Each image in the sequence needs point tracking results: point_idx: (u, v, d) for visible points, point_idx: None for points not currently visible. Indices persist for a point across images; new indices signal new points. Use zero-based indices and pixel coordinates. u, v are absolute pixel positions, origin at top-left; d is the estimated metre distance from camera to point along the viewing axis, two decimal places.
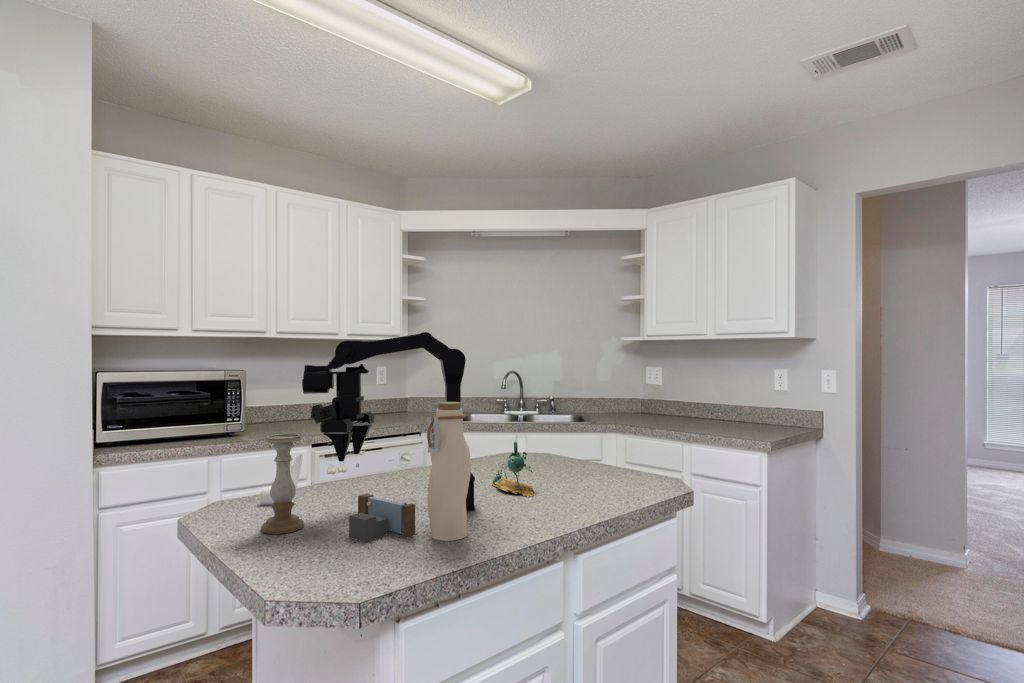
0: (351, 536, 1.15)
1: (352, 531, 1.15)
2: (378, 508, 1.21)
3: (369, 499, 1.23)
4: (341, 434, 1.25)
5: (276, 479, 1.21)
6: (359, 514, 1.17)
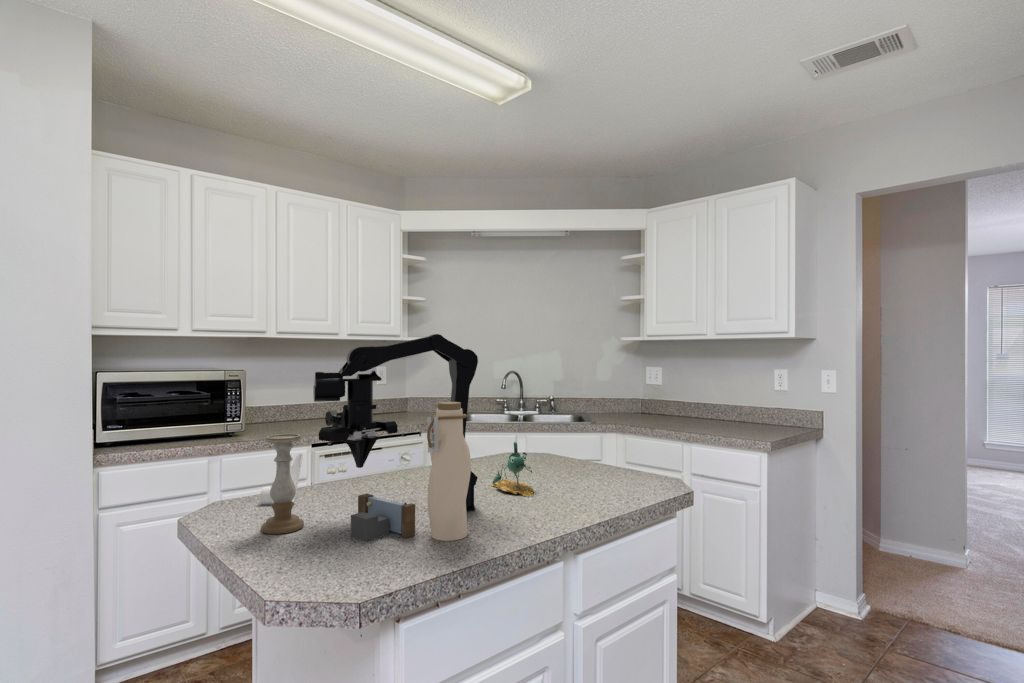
0: (353, 535, 1.16)
1: (354, 531, 1.15)
2: (378, 508, 1.21)
3: (369, 499, 1.23)
4: (351, 441, 1.25)
5: (276, 479, 1.21)
6: (361, 514, 1.17)
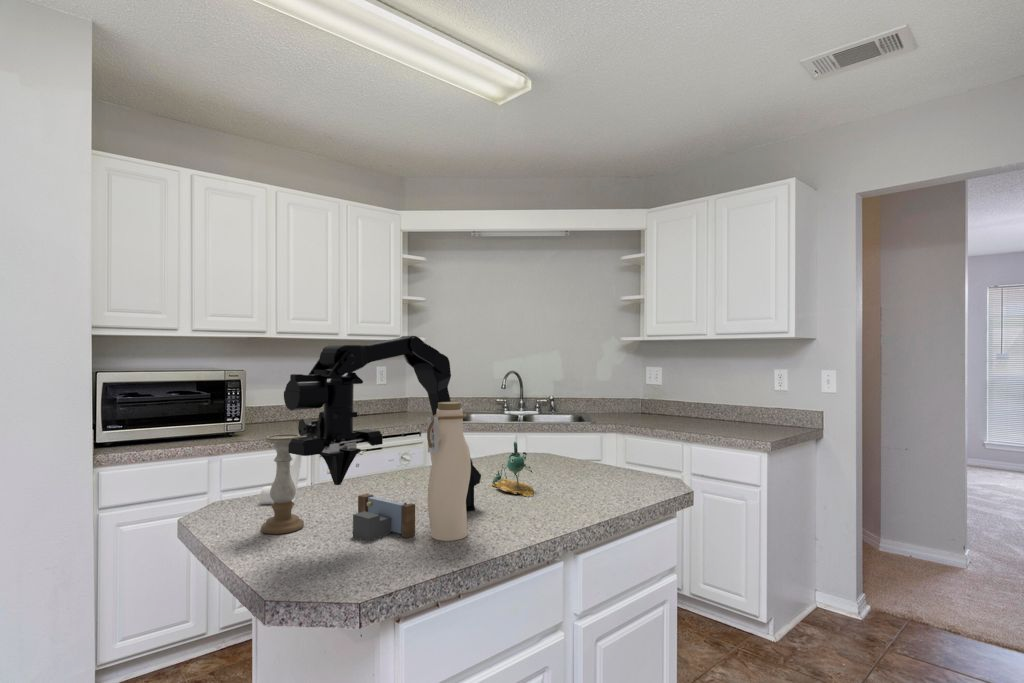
0: (355, 535, 1.16)
1: (356, 530, 1.16)
2: (378, 508, 1.21)
3: (369, 499, 1.23)
4: (327, 454, 1.07)
5: (276, 479, 1.21)
6: (363, 513, 1.18)
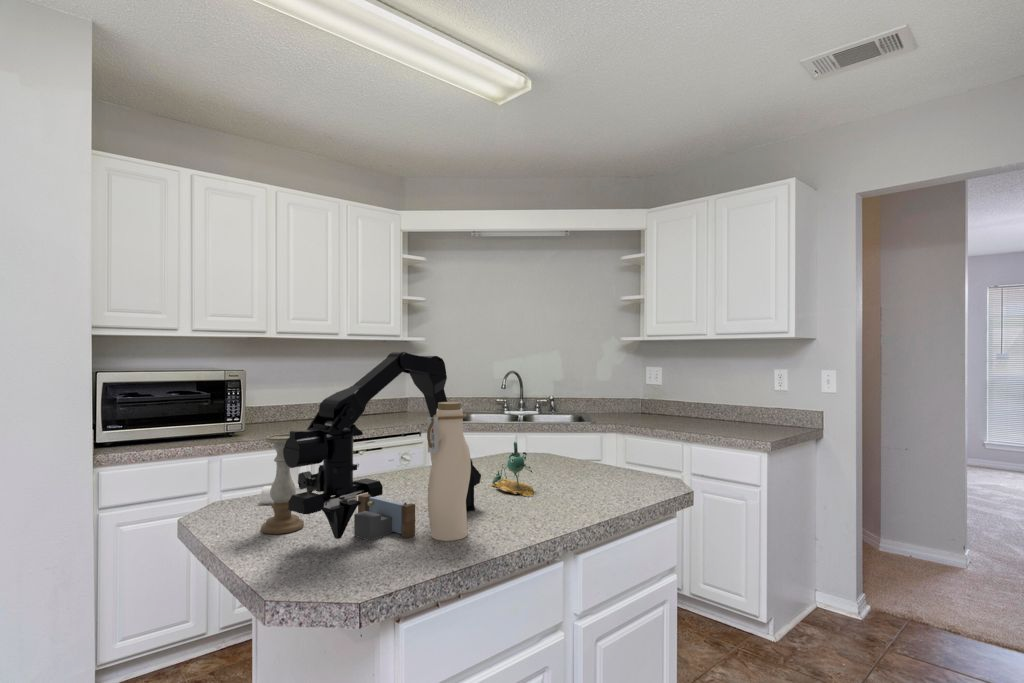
0: (356, 534, 1.17)
1: (358, 530, 1.16)
2: (379, 508, 1.22)
3: (370, 499, 1.23)
4: (327, 509, 1.07)
5: (276, 479, 1.21)
6: (364, 512, 1.18)
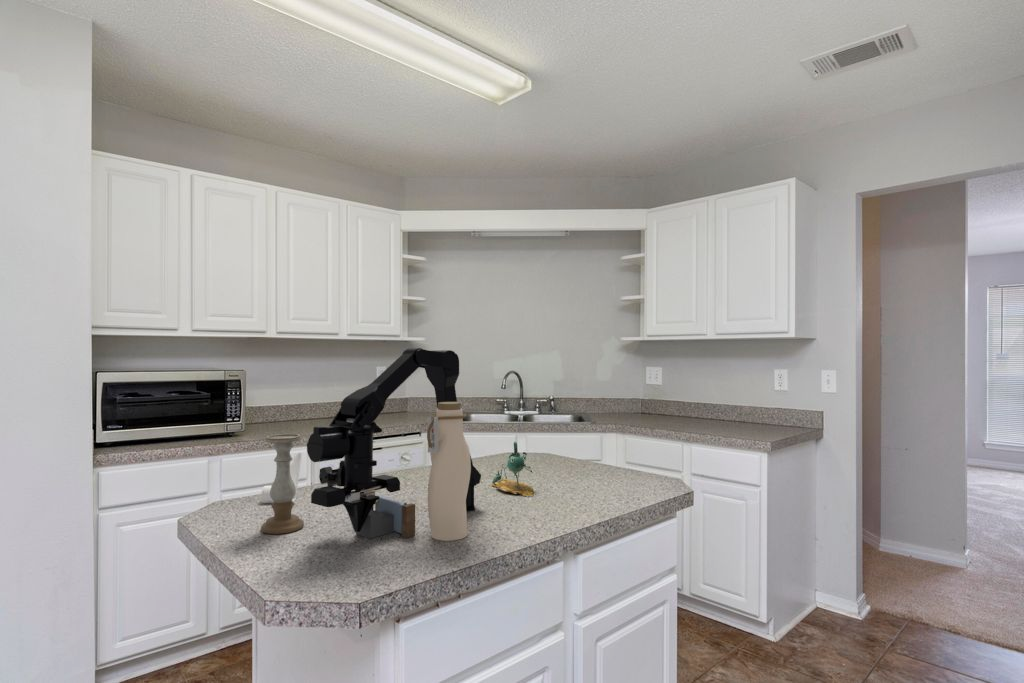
0: (358, 532, 1.17)
1: None
2: (383, 507, 1.22)
3: None
4: (348, 503, 1.11)
5: (276, 479, 1.21)
6: None
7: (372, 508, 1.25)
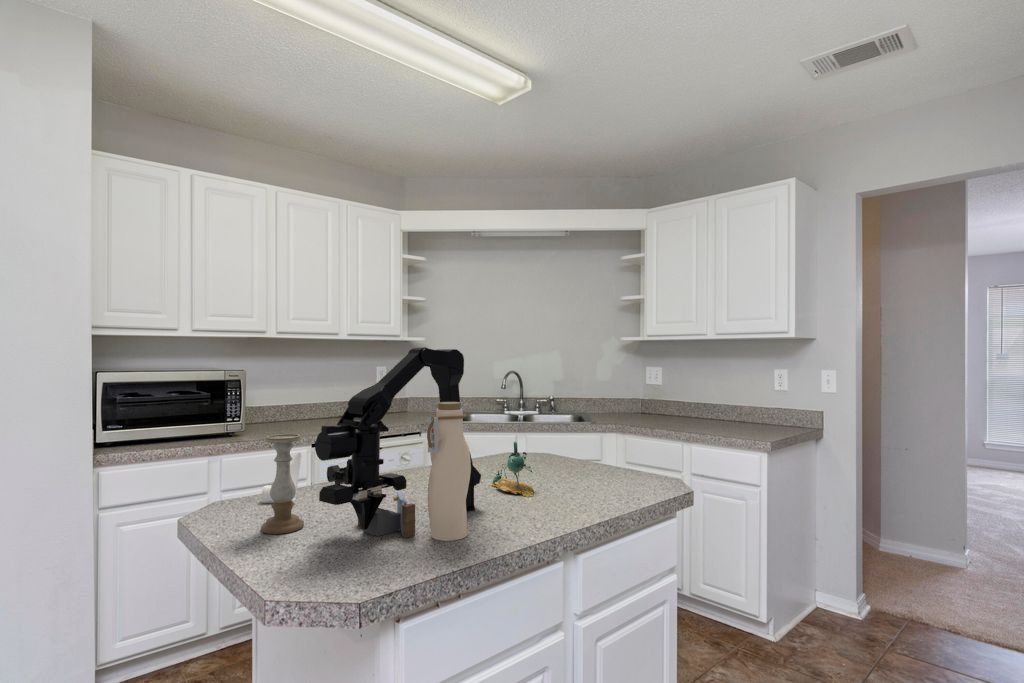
0: None
1: None
2: (398, 504, 1.25)
3: (397, 494, 1.27)
4: (355, 501, 1.12)
5: (276, 479, 1.21)
6: None
7: None
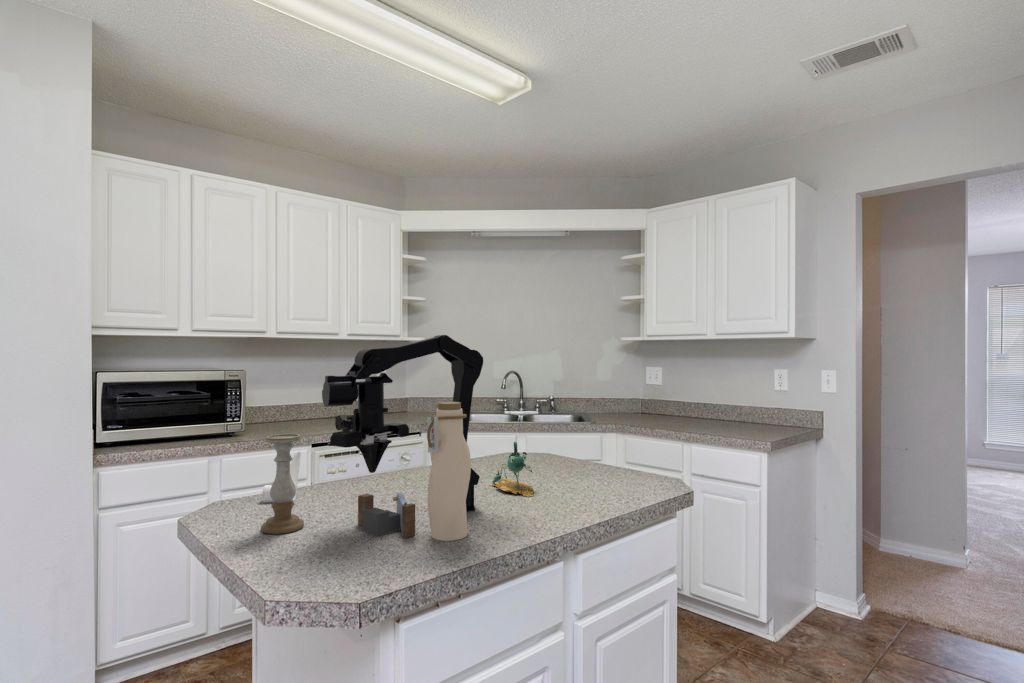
0: (365, 530, 1.19)
1: (366, 526, 1.19)
2: (398, 504, 1.24)
3: None
4: (363, 445, 1.22)
5: (276, 479, 1.21)
6: (373, 509, 1.21)
7: None
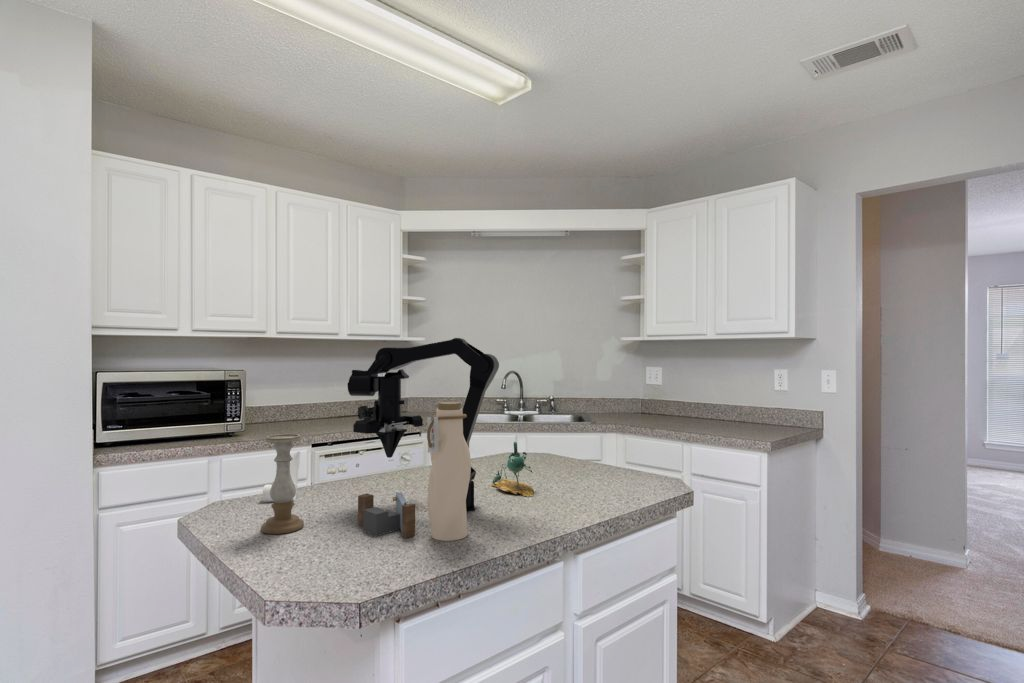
0: (365, 529, 1.20)
1: (366, 525, 1.19)
2: (398, 504, 1.24)
3: (396, 494, 1.27)
4: (382, 433, 1.38)
5: (276, 479, 1.21)
6: (373, 508, 1.21)
7: None
